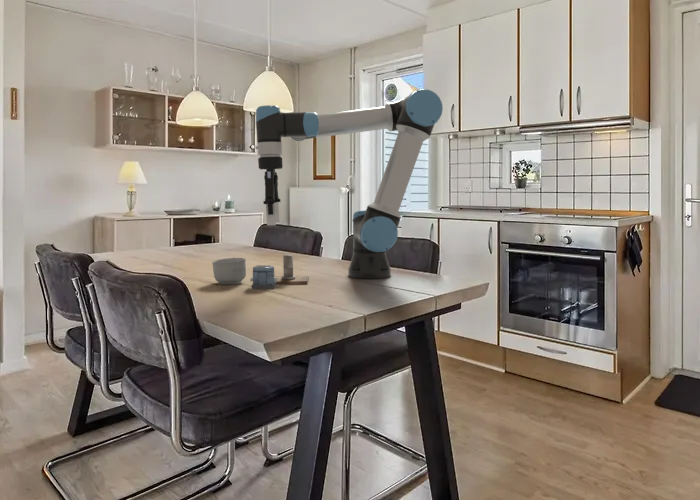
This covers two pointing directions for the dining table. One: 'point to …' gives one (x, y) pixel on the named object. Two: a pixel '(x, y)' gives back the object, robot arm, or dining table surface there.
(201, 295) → the dining table surface
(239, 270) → the teacup
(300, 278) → the post board
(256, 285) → the coaster
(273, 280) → the cap
